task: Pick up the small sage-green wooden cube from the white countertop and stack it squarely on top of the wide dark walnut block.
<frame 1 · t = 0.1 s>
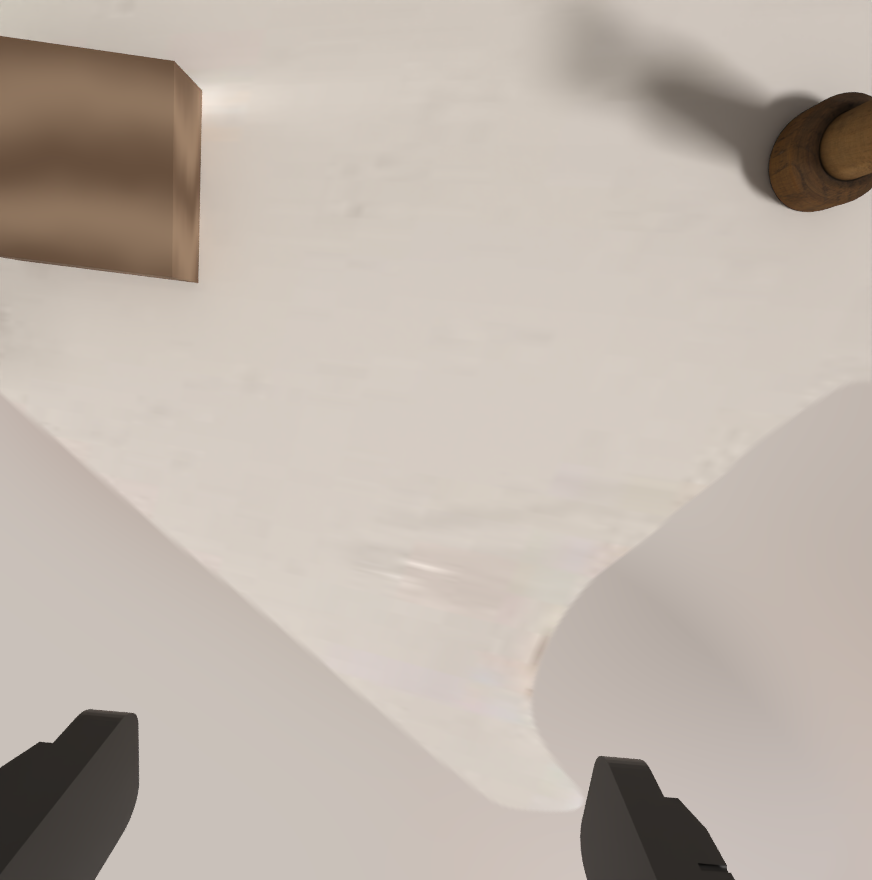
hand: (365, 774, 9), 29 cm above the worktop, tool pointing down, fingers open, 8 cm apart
walnut block: (112, 179, 34), on the worktop
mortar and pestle: (814, 162, 34), on the worktop
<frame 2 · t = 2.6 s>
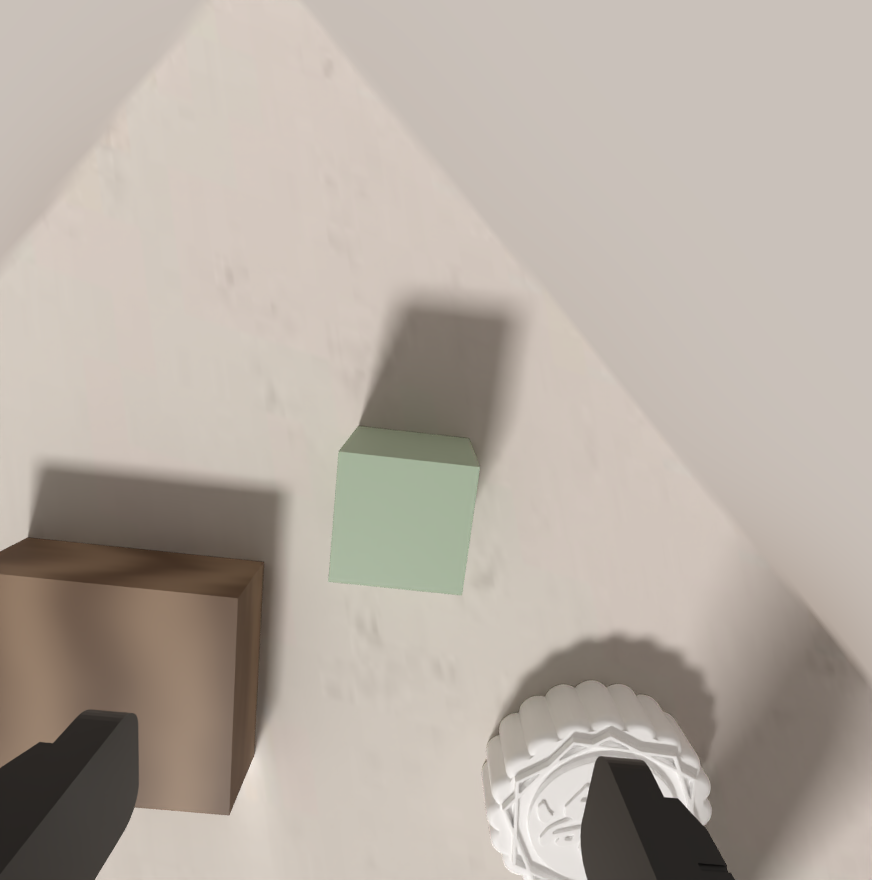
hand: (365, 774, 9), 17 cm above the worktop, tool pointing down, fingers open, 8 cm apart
mooncake: (581, 763, 29), on the worktop
walnut block: (151, 647, 27), on the worktop
sage block: (408, 484, 25), on the worktop
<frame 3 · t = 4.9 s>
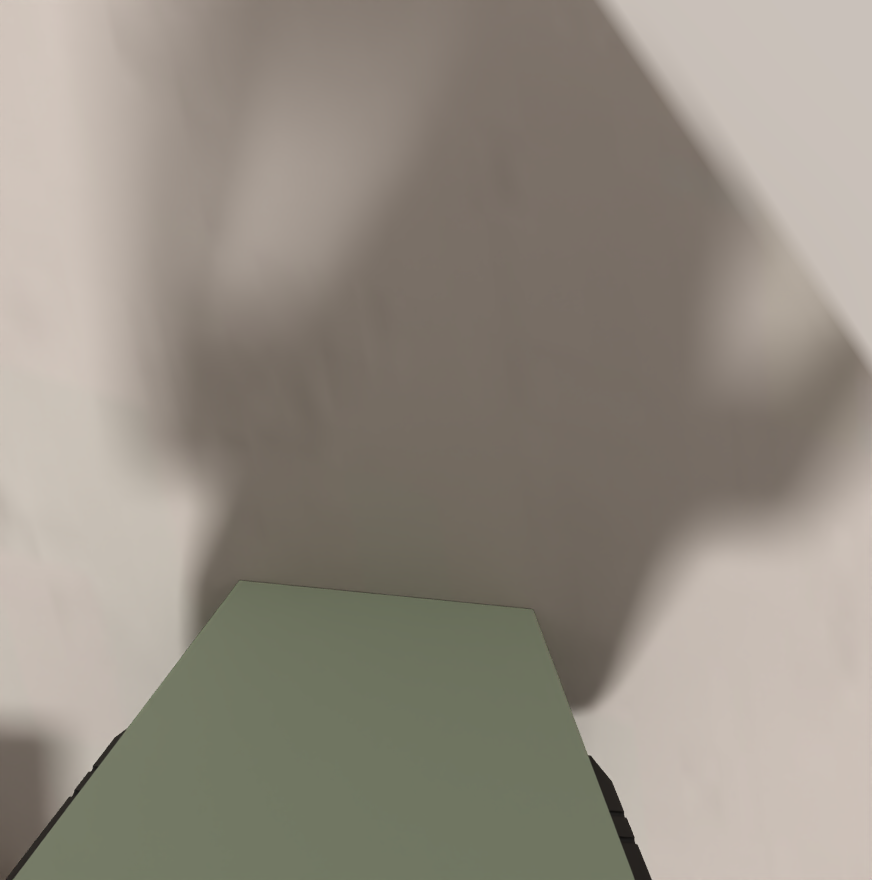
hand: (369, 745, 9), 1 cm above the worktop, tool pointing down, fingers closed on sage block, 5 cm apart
sage block: (374, 720, 10), on the worktop, touching gripper
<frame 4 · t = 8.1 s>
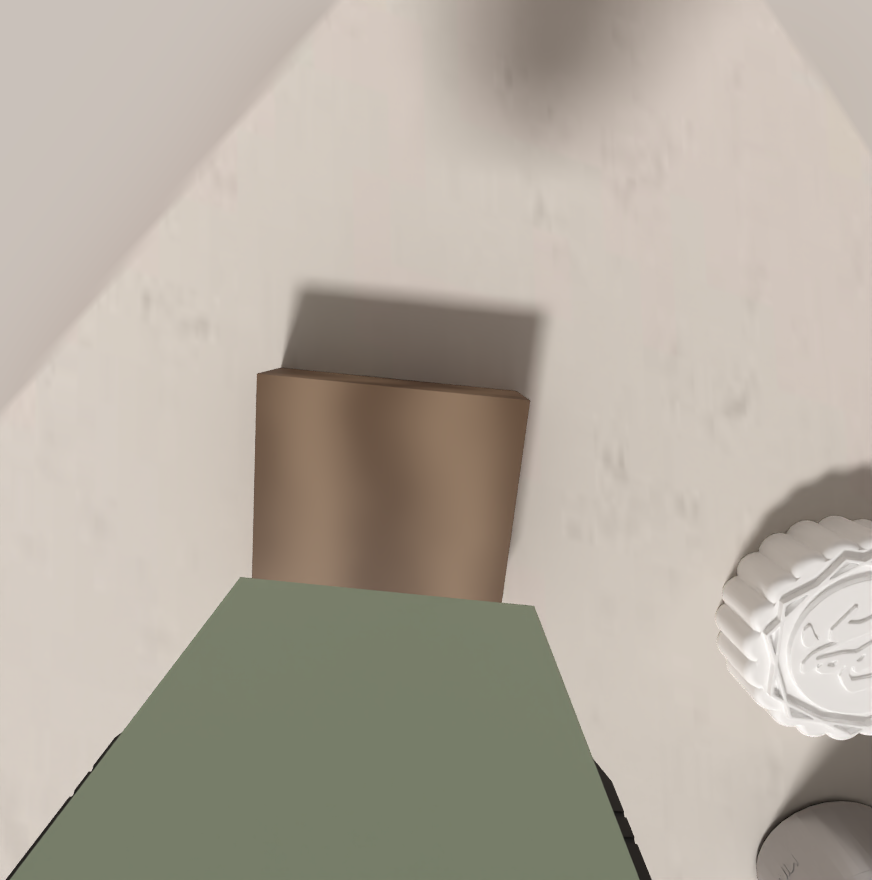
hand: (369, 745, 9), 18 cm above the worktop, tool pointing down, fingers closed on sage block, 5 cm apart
mooncake: (812, 609, 29), on the worktop
walnut block: (390, 489, 27), on the worktop
sage block: (375, 717, 10), point 17 cm above the worktop, touching gripper
when the fingers open (6 cm above the worktop, at t = 11.3 s): sage block drops 2 cm, resting on walnut block.
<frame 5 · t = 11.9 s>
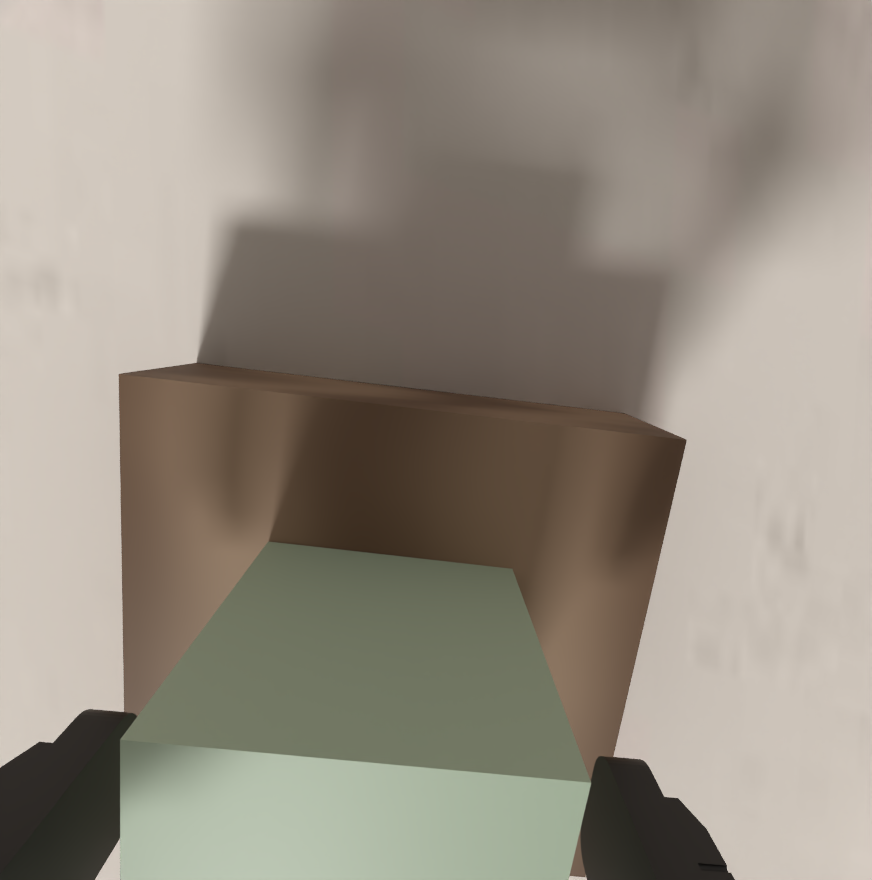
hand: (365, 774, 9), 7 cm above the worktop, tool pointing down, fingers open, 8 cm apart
walnut block: (393, 576, 16), on the worktop, touching sage block
sage block: (378, 662, 12), point 3 cm above the worktop, touching walnut block
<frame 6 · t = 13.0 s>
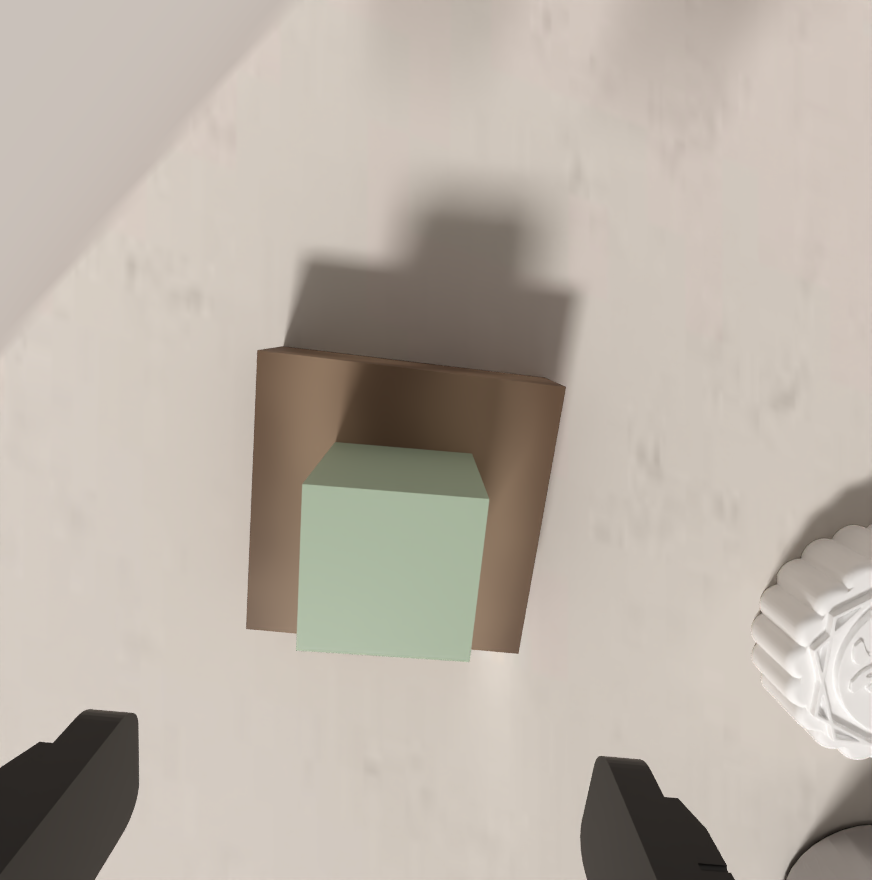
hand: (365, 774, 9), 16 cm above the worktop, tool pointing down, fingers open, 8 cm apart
mooncake: (854, 621, 27), on the worktop
walnut block: (402, 483, 25), on the worktop, touching sage block
sage block: (398, 512, 21), point 4 cm above the worktop, touching walnut block
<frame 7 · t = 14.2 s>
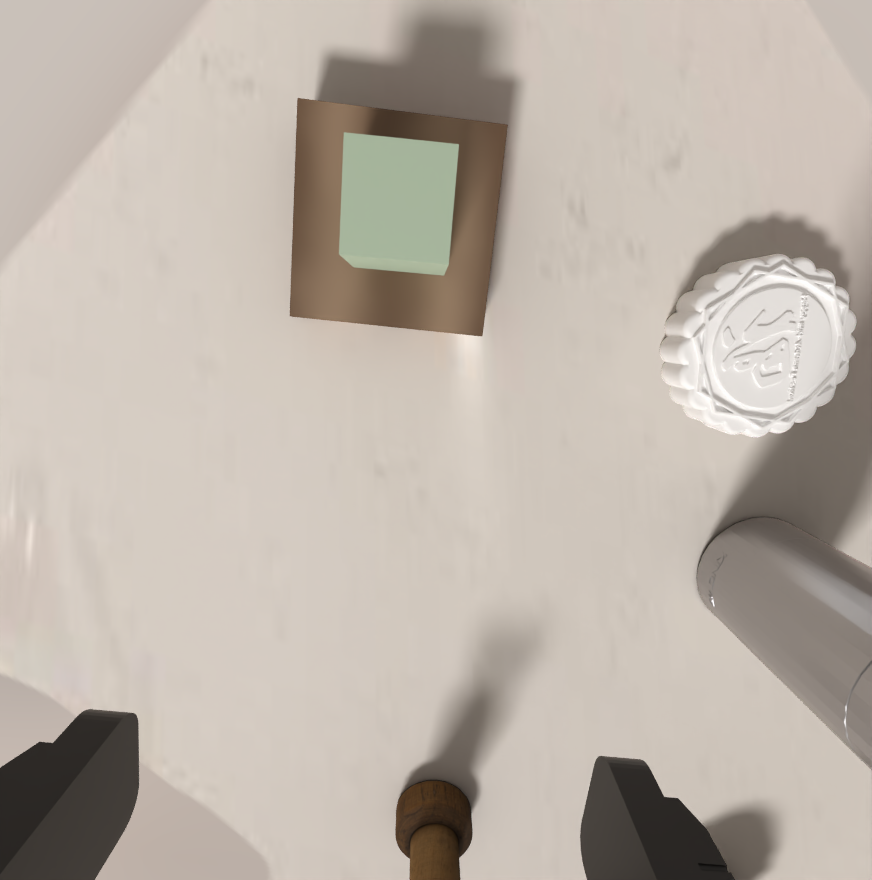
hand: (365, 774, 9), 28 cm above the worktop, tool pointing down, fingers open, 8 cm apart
mooncake: (738, 347, 36), on the worktop
walnut block: (397, 235, 34), on the worktop, touching sage block
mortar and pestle: (433, 807, 44), on the worktop
sage block: (402, 223, 30), point 3 cm above the worktop, touching walnut block
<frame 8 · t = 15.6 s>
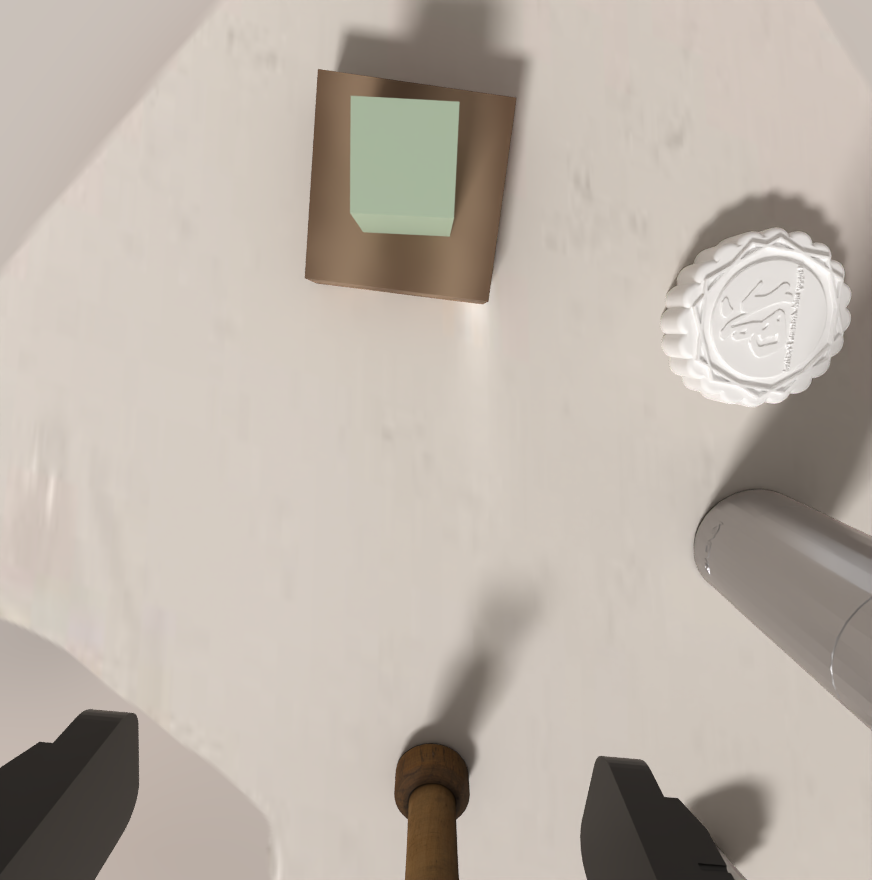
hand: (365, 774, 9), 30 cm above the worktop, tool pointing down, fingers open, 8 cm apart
mooncake: (736, 321, 37), on the worktop
walnut block: (409, 206, 35), on the worktop, touching sage block
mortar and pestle: (431, 771, 45), on the worktop
cupcake: (691, 863, 48), on the worktop
sage block: (407, 187, 31), point 4 cm above the worktop, touching walnut block
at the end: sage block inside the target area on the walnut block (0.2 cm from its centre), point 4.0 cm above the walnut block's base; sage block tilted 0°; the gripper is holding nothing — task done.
